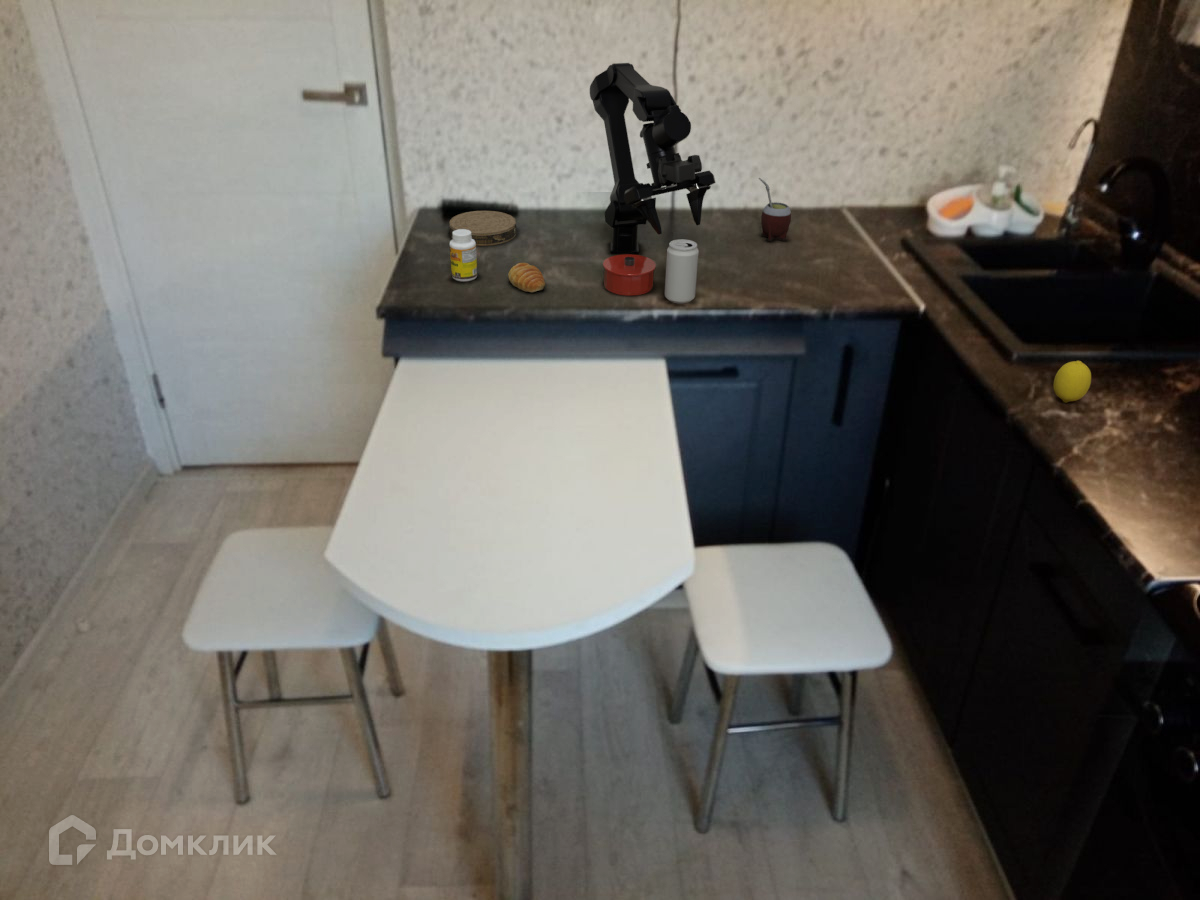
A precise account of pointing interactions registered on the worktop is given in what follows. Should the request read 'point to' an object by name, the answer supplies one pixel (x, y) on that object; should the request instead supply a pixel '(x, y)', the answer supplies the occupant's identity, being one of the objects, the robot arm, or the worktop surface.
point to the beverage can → (681, 271)
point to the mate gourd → (775, 219)
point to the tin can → (485, 226)
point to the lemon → (1072, 381)
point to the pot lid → (629, 265)
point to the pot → (628, 283)
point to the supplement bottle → (463, 256)
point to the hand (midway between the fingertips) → (679, 229)
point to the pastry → (526, 277)
